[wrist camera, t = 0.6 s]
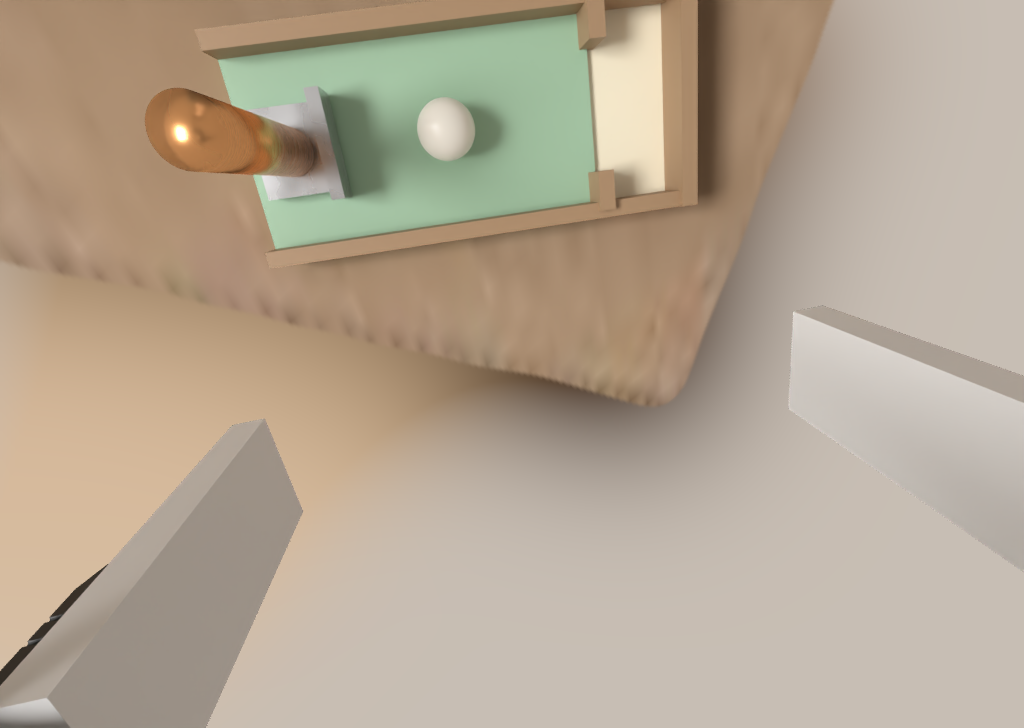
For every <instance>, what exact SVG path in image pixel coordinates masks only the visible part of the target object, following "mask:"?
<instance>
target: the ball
mask: <svg viewBox="0 0 1024 728" xmlns="http://www.w3.org/2000/svg"><path fill="white" fill-rule="evenodd" d="M417 133H418V137H419V140H420V143H421V145H422V146H423V148H424V149H425V150H426V151H427V152H428V153H429V154H430V155H431V156H433V157H434V158H436V159H439V160H442V161H453V160H457V159H459V158H461V157H463V156H464V155H465V154H466V153H467V152H468V151H469V150H470V148H471V146H472V144H473V142H474V138H475V124H474V120H473V117H472V115H471V113H470V112H469V110H468V109H467V108H466V107H465V106H464V105H463V104H462V103H461V102H459V101H458V100H456V99H453V98H449V97H440V98H436V99H433V100H432V101H430V102H429V103H427V104H426V105H425V106H424V108H423V109H422V111H421V112H420V115H419V117H418V122H417Z"/></svg>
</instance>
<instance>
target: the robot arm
mask: <svg viewBox="0 0 1024 728" xmlns="http://www.w3.org/2000/svg"><path fill="white" fill-rule="evenodd" d="M791 348H792V349H791V367H790V387H789V406H788V409H789V410H791V411H792V412H794V413H795V414H797V415H798V416H799V417H801V418H803V419H804V420H805V421H807V422H808V423H810V424H811V425H812V426H814V427H815V428H817V429H818V430H820V431H821V432H822V433H824V434H825V435H827V436H828V437H830V438H831V439H833V440H834V441H835V442H837V443H838V444H840V445H841V446H843V447H844V448H845V449H847V450H848V451H850V452H852V453H853V454H854V455H856V456H857V457H858V458H860V459H861V460H863V461H864V462H866V463H867V464H869V465H870V466H872V467H873V468H874V469H876V470H877V471H879V472H880V473H881V474H883V475H885V476H886V477H887V478H889V479H890V480H892V481H893V482H894V483H896V484H897V485H899V486H900V487H902V488H903V489H905V490H906V491H907V492H909V493H910V494H912V495H913V496H915V497H916V498H917V499H919V500H920V501H922V502H923V503H925V504H926V505H928V506H929V507H930V508H932V509H933V510H935V511H936V512H938V513H939V514H941V515H942V516H944V517H945V518H946V519H948V520H949V521H951V522H952V523H953V524H955V525H956V526H958V527H959V528H961V529H962V530H964V531H965V532H966V533H968V534H969V535H971V536H972V537H974V538H975V539H976V540H978V541H979V542H981V543H982V544H984V545H985V546H987V547H988V548H989V549H991V550H992V551H994V552H995V553H997V554H998V555H999V556H1001V557H1003V558H1004V559H1005V560H1007V561H1008V562H1010V563H1011V564H1013V565H1014V566H1015V567H1017V568H1018V569H1020V570H1021V571H1023V572H1024V376H1023V375H1020V374H1017V373H1014V372H1011V371H1008V370H1006V369H1002V368H1000V367H997V366H994V365H991V364H988V363H986V362H983V361H980V360H977V359H974V358H971V357H969V356H966V355H963V354H960V353H957V352H954V351H951V350H949V349H946V348H943V347H940V346H937V345H934V344H931V343H928V342H926V341H923V340H920V339H917V338H914V337H911V336H908V335H906V334H903V333H900V332H897V331H894V330H891V329H888V328H886V327H883V326H880V325H877V324H874V323H871V322H868V321H866V320H863V319H860V318H857V317H854V316H851V315H848V314H845V313H843V312H840V311H837V310H834V309H831V308H828V307H826V306H818V307H813V308H808V309H803V310H798V311H793V328H792V347H791ZM302 513H303V510H302V508H301V505H300V503H299V500H298V498H297V496H296V493H295V491H294V488H293V486H292V483H291V481H290V479H289V476H288V474H287V471H286V469H285V467H284V464H283V462H282V459H281V457H280V454H279V452H278V450H277V447H276V445H275V442H274V440H273V437H272V435H271V433H270V430H269V428H268V425H267V423H266V421H265V419H260V420H255V421H250V422H245V423H240V424H236V425H232V426H231V427H230V428H229V429H228V431H227V432H226V433H225V434H224V435H223V436H222V437H221V438H220V440H219V441H218V442H217V443H216V444H215V445H214V446H213V447H212V449H211V450H210V451H209V452H208V453H207V454H206V455H205V457H204V458H203V459H202V460H201V461H200V462H199V463H198V464H197V465H196V466H195V468H194V469H193V470H192V471H191V472H190V473H189V475H188V476H187V477H186V478H185V479H184V480H183V481H182V482H181V484H180V485H179V486H178V487H177V488H176V489H175V490H174V491H173V492H172V493H171V495H170V496H169V497H168V498H167V499H166V500H165V501H164V503H163V504H162V505H161V506H160V507H159V508H158V509H157V510H156V511H155V513H154V514H153V515H152V516H151V517H150V518H149V519H148V521H147V522H146V523H145V524H144V525H143V526H142V527H141V528H140V529H139V531H138V532H137V533H136V534H135V535H134V536H133V537H132V538H131V540H130V541H129V542H128V543H127V544H126V545H125V546H124V547H123V549H122V550H121V551H120V552H119V553H118V554H117V555H116V557H114V559H113V560H112V561H111V562H110V563H109V564H107V565H106V566H105V567H104V568H102V569H101V570H100V571H98V572H97V573H96V574H94V575H93V576H92V577H91V578H89V579H88V580H87V581H86V582H84V583H83V584H82V585H80V586H79V587H78V588H76V589H75V590H74V591H73V592H72V593H71V594H70V596H69V597H68V598H67V599H66V600H65V601H64V602H63V603H62V604H61V605H60V607H59V608H58V609H57V610H56V611H55V612H54V613H53V614H52V615H51V617H50V621H49V622H47V623H44V624H43V625H42V626H41V627H40V628H39V630H38V631H37V632H36V633H35V634H34V635H33V636H32V637H31V638H30V639H29V641H28V645H27V646H26V647H22V648H21V649H20V650H19V651H18V652H17V654H15V656H14V657H13V658H12V659H11V660H10V661H9V662H8V663H7V664H6V665H5V666H4V668H3V669H2V670H1V671H0V728H206V726H207V724H208V722H209V719H210V717H211V714H212V713H213V710H214V708H215V706H216V704H217V702H218V699H219V697H220V695H221V693H222V690H223V688H224V686H225V684H226V682H227V679H228V677H229V675H230V673H231V670H232V668H233V666H234V664H235V662H236V659H237V657H238V655H239V653H240V650H241V648H242V646H243V644H244V641H245V639H246V637H247V635H248V633H249V630H250V628H251V626H252V624H253V621H254V619H255V617H256V615H257V613H258V610H259V608H260V606H261V604H262V601H263V599H264V597H265V595H266V593H267V590H268V588H269V586H270V584H271V581H272V579H273V577H274V575H275V573H276V570H277V568H278V566H279V564H280V562H281V559H282V557H283V555H284V553H285V550H286V548H287V546H288V544H289V541H290V539H291V537H292V535H293V533H294V530H295V528H296V526H297V524H298V521H299V519H300V517H301V515H302Z"/></svg>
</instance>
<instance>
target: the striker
mask: <svg viewBox="0 0 1024 728" xmlns="http://www.w3.org/2000/svg"><path fill="white" fill-rule="evenodd" d="M303 90H304V94H305V98H306V102H302V103H295V104H287V105H280V106H272V107H265V108H257V109H250V110H243V109H241V108H238V107H235V106H232V105H230V104H227V103H224V102H222V101H219V100H216V99H213V98H211V97H208V96H205V95H202V94H200V93H197V92H194V91H191V90H188V89H184V88H171V89H167V90H164V91H162V92H160V93H158V94H157V95H156V96H155V97H154V98H153V99H152V100H151V102H150V103H149V105H148V107H147V110H146V115H145V126H146V131H147V135H148V137H149V140H150V142H151V144H152V145H153V147H154V148H155V150H156V151H157V152H158V153H159V155H160V156H161V157H162V158H164V159H165V160H166V161H167V162H169V163H170V164H172V165H173V166H175V167H177V168H180V169H183V170H186V171H194V172H211V173H229V174H246V175H261V176H262V179H263V182H264V186H265V189H266V192H267V196H268V199H269V201H270V200H280V199H286V198H293V197H300V196H307V195H314V194H321V193H328V192H330V195H331V199H332V200H337V199H344V198H351V197H353V196H352V192H351V188H350V184H349V179H348V175H347V171H346V167H345V163H344V159H343V154H342V150H341V146H340V142H339V138H338V134H337V130H336V125H335V121H334V117H333V113H332V109H331V105H330V100H329V96H328V93H326V92H325V91H324V90H322V89H321V88H320V87H318V86H312V87H305V88H303Z"/></svg>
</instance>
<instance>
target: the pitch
mask: <svg viewBox="0 0 1024 728" xmlns="http://www.w3.org/2000/svg"><path fill="white" fill-rule="evenodd" d="M195 32H196V35H197V39H198V42H199V45H200V48H201V51H203V52H204V53H206V54H208V55H210V56H212V57H214V58H216V59H217V60H218V62H219V65H220V68H221V71H222V75H223V78H224V81H225V84H226V88H227V91H228V94H229V97H230V101H231V104H232V106H235V107H238V108H241V109H243V110H250V109H257V108H265V107H272V106H280V105H287V104H295V103H302V102H306V98H305V94H304V90H303V88H305V87H312V86H318V87H320V88H321V89H322V90H324V91H325V92H326V93H328V96H329V100H330V105H331V109H332V113H333V117H334V121H335V125H336V130H337V134H338V138H339V142H340V146H341V150H342V154H343V159H344V163H345V167H346V171H347V175H348V179H349V184H350V188H351V192H352V196H353V197H351V198H344V199H337V200H332V199H331V195H330V192H328V193H321V194H314V195H307V196H300V197H293V198H286V199H280V200H270V201H269V199H268V196H267V192H266V189H265V186H264V182H263V179H262V176H261V175H253V176H254V179H255V183H256V186H257V189H258V192H259V196H260V199H261V202H262V205H263V209H264V212H265V215H266V218H267V222H268V225H269V228H270V232H271V235H272V238H273V241H274V245H275V248H276V249H275V250H272V251H269V252H266V253H265V255H266V258H267V261H268V264H269V267H270V269H272V268H279V267H285V266H292V265H298V264H305V263H311V262H318V261H325V260H331V259H338V258H344V257H351V256H357V255H364V254H370V253H377V252H384V251H390V250H397V249H403V248H410V247H416V246H423V245H429V244H436V243H442V242H449V241H456V240H462V239H469V238H475V237H482V236H488V235H495V234H501V233H508V232H514V231H521V230H528V229H534V228H541V227H547V226H554V225H560V224H567V223H573V222H580V221H587V220H593V219H600V218H606V217H613V216H619V215H626V214H632V213H639V212H645V211H652V210H659V209H665V208H672V207H678V206H682V207H683V206H690V205H697V204H698V0H429V1H421V2H413V3H405V4H397V5H388V6H380V7H372V8H364V9H356V10H348V11H340V12H332V13H324V14H316V15H308V16H300V17H291V18H283V19H275V20H267V21H259V22H251V23H243V24H235V25H227V26H219V27H211V28H202V29H195ZM440 97H449V98H453V99H456V100H458V101H459V102H461V103H462V104H463V105H464V106H465V107H466V108H467V109H468V110H469V112H470V113H471V115H472V117H473V120H474V124H475V138H474V142H473V144H472V146H471V148H470V150H469V151H468V152H467V153H466V154H465V155H464V156H463V157H461V158H459V159H457V160H453V161H442V160H439V159H436V158H434V157H433V156H431V155H430V154H429V153H428V152H427V151H426V150H425V149H424V148H423V146H422V145H421V143H420V140H419V137H418V133H417V122H418V117H419V115H420V112H421V111H422V109H423V108H424V106H425V105H426V104H427V103H429V102H430V101H432V100H433V99H436V98H440Z"/></svg>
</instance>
